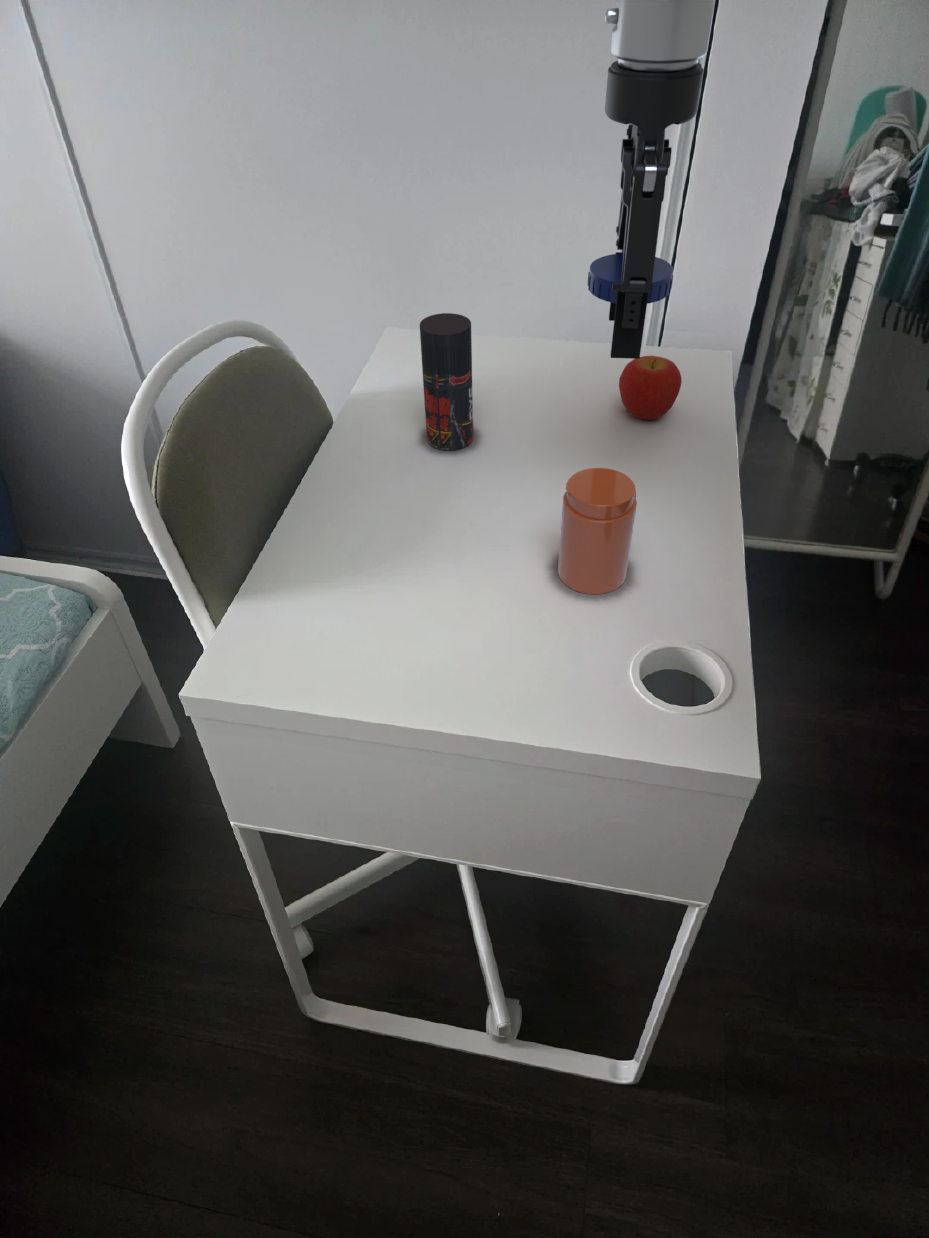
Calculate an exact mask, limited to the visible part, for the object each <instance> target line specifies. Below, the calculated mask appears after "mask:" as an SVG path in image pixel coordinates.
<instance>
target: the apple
mask: <svg viewBox="0 0 929 1238" xmlns="http://www.w3.org/2000/svg"><path fill="white" fill-rule="evenodd" d="M618 379H619V380H618V389H619V390H618V391H619V394H620V400H621V403H622V404H623V406H624V408H625V410H626V412H627V413H629V414H630V415H632V416H633V417H634V418H636V419H638V420H644V421H652V420H656V419H659V418H662V417H663V416H665V415H666V414H667V413H668V412H669V411H670V410H671V408H672V407H673V406H674V404H675V402H676V400H677V398H678V396H679V393H680V392H681V391H680V390H681V387H682V383H683V381H682V374H681V371H680V369H679V368H678V365H676V363H675V362H674V361H672V360H671V359H669V358H666V357H662V356H657V355H642V356H640V359H632V360H631V361H629V362H628V363H626V364H625V366H624V368H623V370H622V372H621V374H620V376H619V378H618Z"/></svg>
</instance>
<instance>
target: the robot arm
mask: <svg viewBox="0 0 929 1238" xmlns="http://www.w3.org/2000/svg"><path fill="white" fill-rule="evenodd" d="M614 2H615V4H616V6H617V7H614V8H612V7H611V8H608V9H606V11H605V14H604V22H605V23H606V24H608V25H613V28H612V30H611V40H610V41H611V43H610V53H611V54H612V56H613V57H615V58H616V59H617V60H615V61H613V62H612V63H611V64H610V66H609V67H608V68H607V78H606V79H607V80H606V90H605V91H606V92H605V102H604V112H605V115H606V116H607V117H608V119H609V120H611V121H612V122H615V123H618V124H622V125H628V126H627V129H626V136H627V138H622V140H621V147H620V148H621V149H620V162H621V172H620V185H619V186H620V189H621V194H620V203H619V212H618V221H617V225H616V227H615V228H616V229H615V233H616V237H617V239H616V240H615V246H616V250H618V251H619V252H618V251H616V252H615V254H620V253H623V262H622V274H621V280H620V282H619V284H612V291H617V300H616V303H612V302H609V304H610V305H609V312H608V322H609V321H612V322H613V329H612V338H611V347H610V359H632V360H634V359H640V357H641V350H642V343H643V337H644V331H645V330H644V329H645V322H646V321H645V320H646V314H647V307H648V304H647V300H648V293H650V292H651V291H652V288H653V282H652V279H653V271H654V263H655V257H656V256H657V255H656V253H657V246H658V245H657V244H658V239H659V238H658V237H659V229H660V222H661V221H660V220H661V213H662V205H663V202H664V198H665V191H666V190H665V189H666V179H667V176H668V174H669V168H670V166H671V162H672V161H671V160H672V151H673V150H672V149H673V147H672V146H671V147H670V139H668V138H666V129H667V128H668V127H670V126H672V125H677V126H678V125H682V124H686V123H688V122H691V120H693V119H694V118H695V117H696V115H697V114H698V109H699V104H700V97H701V92H702V91H701V90H702V85H703V78H704V72H705V71H704V68H703V66H702V64H701V62H699V60H700V59H702V58H704V57H705V56H706V55H707V53H708V49H709V45H710V44H709V42H710V36H711V31H712V24H713V17H714V11H715V7H716V6H715V5H716V0H614Z"/></svg>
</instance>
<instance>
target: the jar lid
mask: <svg viewBox="0 0 929 1238" xmlns="http://www.w3.org/2000/svg"><path fill="white" fill-rule="evenodd" d="M622 262H623V253H620V254H616V253H613V254H612V253H611V254H608V255H604V256H601V257H598V258H595V260H593V261H592V262H591V264H590V265H589V271H588V272H587V273H588V274H587V275H588V277H587V287H588V288H587V290H588V291H589V292H590V294H591V295H592V296H594V297H596V298H597V299H599V300H602V301H604V302H608V303H610V302H612V303H616V300H617V291H612V284H619V282H620V280H621V274H622ZM673 281H674V267H673V266H672V265H671V263H670V262H668V261H667V260H665V259H663V258H661V257H657V256H655V263H654V271H653V279H652V282H653V288H652V291H651V292H650V293H648V300H647V305H649V304H652V303H656V302H660V301H662V300H664V299H665V298H667V297H668V296H669V295H670V294H671V290H672V288H673Z"/></svg>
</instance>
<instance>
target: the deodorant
mask: <svg viewBox="0 0 929 1238" xmlns="http://www.w3.org/2000/svg"><path fill="white" fill-rule="evenodd" d="M419 339H420V354H421V367H422V368H421V369H422V383H423V385H422V386H423V399H424V417H425V432H426V441H427V444H429V446H430V447H431V448H432V449H433V448H434V449H435V450H438V451H443V452H444V451H445V452H454V451H459V450H462V449H465V448H467V447H469V446H470V445H471V444H472V443H473V441H474V406H473V405H474V403H473V402H474V401H473V350H472V349H473V348H472V345H473V343H472V321H471V319H470V318H468V317H467V316H465V315H462V314H458V313H451V312H449V313H448V312H443V313H435V314H431V315H429V316H426V317H424V318H423V319H422V320H421V321H420V322H419Z"/></svg>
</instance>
